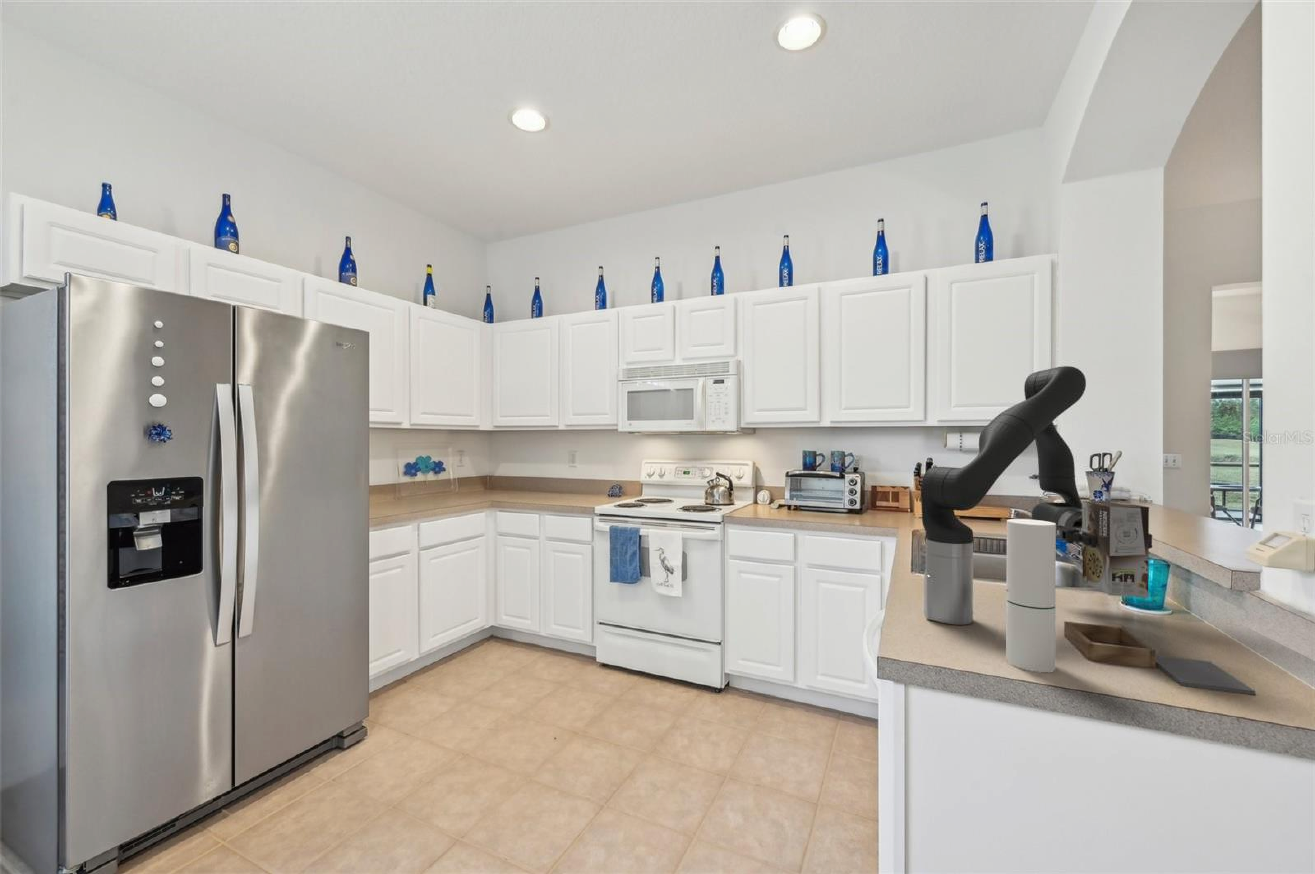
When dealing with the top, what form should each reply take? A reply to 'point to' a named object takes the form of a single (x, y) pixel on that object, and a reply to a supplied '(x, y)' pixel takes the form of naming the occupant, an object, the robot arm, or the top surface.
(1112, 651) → the walnut sleeve
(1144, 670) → the top surface
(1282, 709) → the top surface
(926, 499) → the robot arm
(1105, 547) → the coffee box
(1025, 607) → the cylindrical container
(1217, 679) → the rubber mat
